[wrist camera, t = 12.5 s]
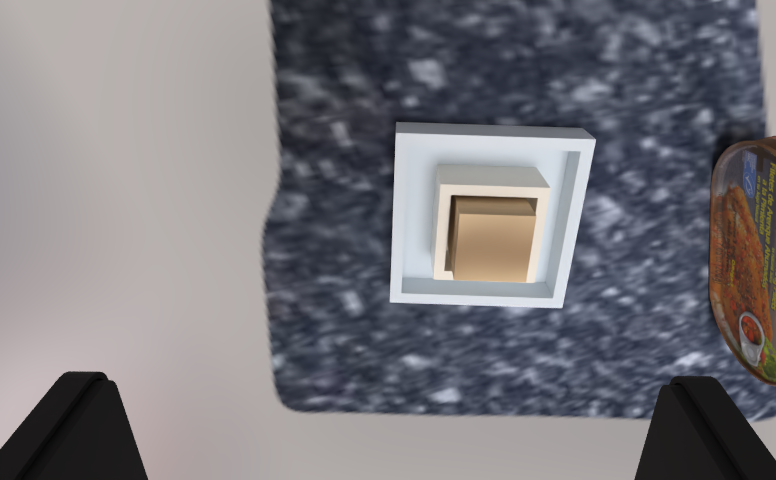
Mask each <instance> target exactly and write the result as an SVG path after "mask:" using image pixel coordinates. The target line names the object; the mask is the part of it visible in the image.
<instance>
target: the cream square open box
mask: <svg viewBox="0 0 776 480" xmlns="http://www.w3.org/2000/svg"><path fill="white" fill-rule="evenodd" d="M550 190H551V187H550V186H549V185H548V183H547V182H546V180H545V179H544V178H543V176H542V175H541V173H540V172H539V171H538V169H537V168H536V167H510V166H480V165H450V164H437V165H436V179H435V194H434V208H433V222H432V236H431V250H430V254H431V263H432V272H433V280H454V278H453V273H452V267H451V261H450V256H449V250H448V244H447V243H448V231H449V219H450V206H451V195H468V196H498V197H526V198H527V200H528V202H529V204H530V206H531V207H532V209H533V211H534V213H535V214H536V223H535V229H534V235H533V242H532V248H531V254H530V261H529V267H528V273H527V280H526V282H517V283H535V278H536V272H537V266H538V260H539V254H540V248H541V243H542V237H543V231H544V225H545V219H546V213H547V207H548V202H549V196H550ZM459 281H464V280H459ZM488 282H496V281H488Z"/></svg>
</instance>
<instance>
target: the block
mask: <svg viewBox="0 0 776 480" xmlns="http://www.w3.org/2000/svg"><path fill="white" fill-rule="evenodd" d="M535 223H536V214H535V213H534V211H533V209H532V207H531V206H530V204H529V202H528V200H527V198H526V197H498V196H468V195H451V206H450V219H449V231H448V243H447V244H448V250H449V256H450V261H451V267H452V273H453V278H454V280H464V281H496V282H526V280H527V273H528V267H529V261H530V254H531V248H532V242H533V235H534V229H535Z"/></svg>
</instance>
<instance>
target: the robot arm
mask: <svg viewBox="0 0 776 480" xmlns="http://www.w3.org/2000/svg"><path fill="white" fill-rule="evenodd" d="M0 480H148V478H147V475H146V472H145V469H144V466H143V463H142V460H141V457H140V454H139V451H138V448H137V445H136V442H135V439H134V436H133V433H132V430H131V427H130V424H129V421H128V418H127V415H126V412H125V409H124V406H123V403H122V400H121V397H120V394H119V391H118V388H117V385H116V383H115V382H114V381H111V380H108V378H107V376H106V375H105V374H104V373H103V372H66V373H64V374H63V375H62V376H61V377H59V379H58V380H57V381H56V382H55V383H54V385H53V386H52V387H51V388H50V389H49V391H48V392H47V393H46V394H45V396H44V397H43V398H42V399H41V400H40V402H39V403H38V404H37V405H36V407H35V408H34V409H33V410H32V411H31V413H30V414H29V415H28V416H27V417H26V419H25V420H24V421H23V422H22V424H21V425H20V426H19V427H18V428H17V430H16V431H15V432H14V433H13V434H12V436H11V437H10V438H9V439H8V441H7V442H6V443H5V444H4V445H3V447H2V448H1V449H0ZM635 480H776V460H775V459H774V457H773V456H772V455H771V453H770V452H769V451H768V449H767V448H766V446H765V445H764V444H763V442H762V441H761V439H760V438H759V437H758V435H757V434H756V433H755V431H754V430H753V428H752V427H751V426H750V424H749V423H748V421H747V420H746V419H745V417H744V416H743V415H742V413H741V412H740V410H739V409H738V408H737V406H736V405H735V403H734V402H733V401H732V399H731V398H730V397H729V395H728V394H727V392H726V391H725V390H724V388H723V387H722V385H721V384H720V383H719V382H718V381H717V380H716V379H715V378H713V377H711V376H676V377H674V378H673V379H672V380H671V382H670V384H669V385H663V386H662V387H661V389H660V391H659V395H658V399H657V402H656V406H655V409H654V413H653V416H652V420H651V423H650V427H649V430H648V434H647V437H646V441H645V444H644V448H643V451H642V455H641V458H640V462H639V465H638V469H637V472H636V476H635Z"/></svg>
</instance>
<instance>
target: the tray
mask: <svg viewBox="0 0 776 480" xmlns="http://www.w3.org/2000/svg"><path fill="white" fill-rule="evenodd" d="M595 142H596V139H595V138H594V137H592V136H591V135H590V134H589V133H588V132H586V131H585V130H584V129H583V128H569V127H538V126H507V125H476V124H445V123H415V122H396V140H395V169H394V197H393V226H392V255H391V284H390V302H396V303H425V304H454V305H484V306H513V307H542V308H562V306H563V301H564V297H565V292H566V287H567V282H568V277H569V272H570V267H571V262H572V257H573V252H574V247H575V242H576V237H577V232H578V227H579V222H580V217H581V212H582V207H583V202H584V197H585V192H586V187H587V182H588V177H589V172H590V167H591V162H592V157H593V152H594V147H595ZM437 164H450V165H480V166H510V167H536V168H537V169H538V171H539V172H540V173H541V175H542V176H543V178H544V179H545V180H546V182H547V183H548V185H549V186H550V187H551V190H550V196H549V202H548V207H547V213H546V219H545V225H544V231H543V237H542V243H541V248H540V254H539V260H538V266H537V272H536V278H535V283H517V282H488V281H459V280H433V272H432V263H431V254H430V250H431V236H432V222H433V208H434V194H435V179H436V165H437Z"/></svg>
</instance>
